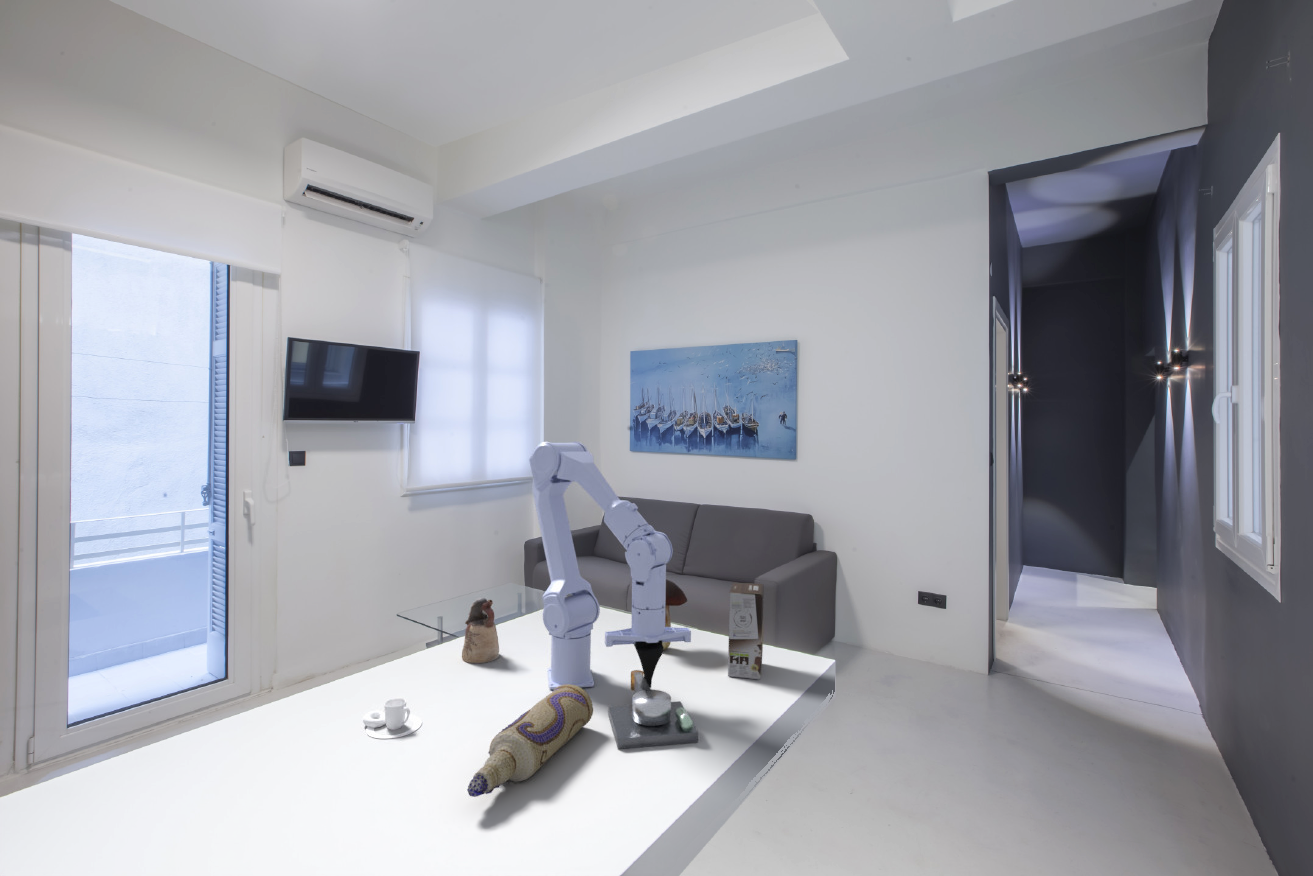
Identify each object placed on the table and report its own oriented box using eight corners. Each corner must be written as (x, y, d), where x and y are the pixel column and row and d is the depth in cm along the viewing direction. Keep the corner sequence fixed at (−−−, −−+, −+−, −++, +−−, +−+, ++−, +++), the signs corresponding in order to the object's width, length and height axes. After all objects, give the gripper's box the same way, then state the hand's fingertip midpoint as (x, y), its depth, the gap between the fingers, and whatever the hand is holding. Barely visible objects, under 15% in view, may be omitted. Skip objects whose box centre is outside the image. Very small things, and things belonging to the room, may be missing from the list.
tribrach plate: (608, 715, 101) (608, 694, 101) (680, 710, 104) (680, 689, 104) (617, 749, 91) (618, 725, 91) (697, 742, 93) (698, 718, 93)
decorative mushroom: (690, 643, 137) (691, 575, 137) (681, 660, 127) (682, 586, 127) (642, 639, 140) (643, 572, 140) (628, 655, 129) (630, 583, 129)
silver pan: (675, 723, 95) (675, 704, 95) (636, 727, 94) (636, 707, 94) (652, 684, 110) (652, 667, 110) (618, 687, 108) (618, 670, 108)
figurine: (483, 649, 132) (484, 592, 132) (506, 656, 128) (507, 597, 128) (455, 658, 126) (456, 598, 126) (477, 666, 122) (478, 604, 122)
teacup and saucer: (355, 727, 97) (355, 701, 97) (405, 711, 103) (405, 686, 103) (379, 747, 91) (379, 719, 91) (431, 729, 97) (431, 703, 97)
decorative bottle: (551, 720, 100) (552, 678, 100) (594, 729, 97) (595, 686, 97) (441, 809, 76) (443, 754, 76) (494, 825, 73) (495, 768, 73)
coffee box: (761, 680, 117) (763, 594, 117) (727, 677, 119) (728, 591, 119) (763, 663, 126) (764, 583, 126) (731, 660, 128) (732, 581, 127)
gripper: (609, 614, 101) (608, 698, 101) (696, 610, 104) (695, 692, 104) (603, 602, 108) (602, 681, 108) (685, 599, 111) (684, 676, 111)
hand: (647, 685), depth 106 cm, fingers closed
